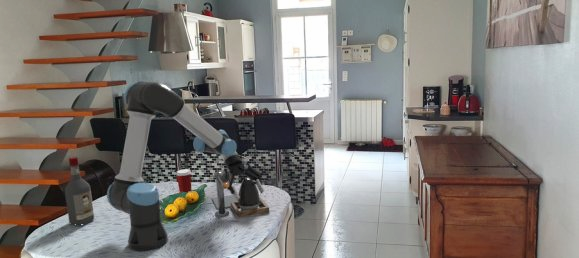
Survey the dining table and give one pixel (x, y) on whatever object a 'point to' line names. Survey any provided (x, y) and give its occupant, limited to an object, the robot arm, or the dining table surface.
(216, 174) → the clip
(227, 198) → the mat
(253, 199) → the dark grey rounded cone
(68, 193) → the liquor
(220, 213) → the post
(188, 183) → the paper cup
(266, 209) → the cradle
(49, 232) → the dining table surface
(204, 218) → the dining table surface
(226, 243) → the dining table surface
